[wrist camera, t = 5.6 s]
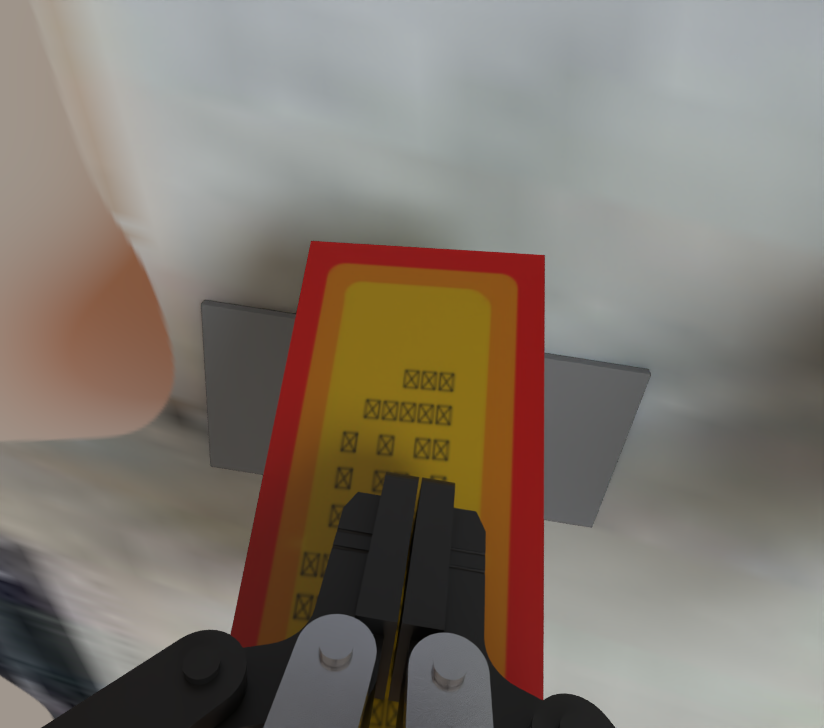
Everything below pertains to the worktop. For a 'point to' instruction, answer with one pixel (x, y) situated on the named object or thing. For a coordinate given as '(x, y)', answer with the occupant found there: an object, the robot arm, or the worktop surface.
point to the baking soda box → (408, 431)
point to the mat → (563, 407)
